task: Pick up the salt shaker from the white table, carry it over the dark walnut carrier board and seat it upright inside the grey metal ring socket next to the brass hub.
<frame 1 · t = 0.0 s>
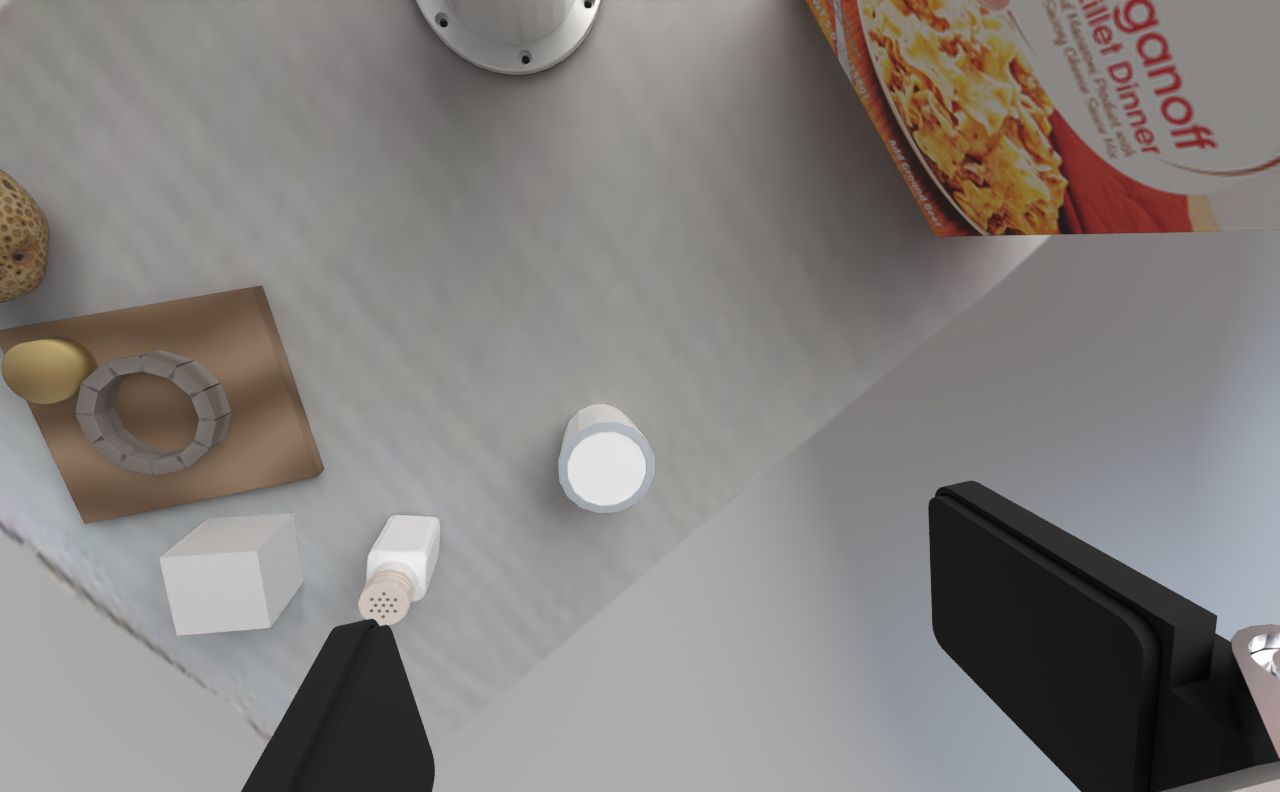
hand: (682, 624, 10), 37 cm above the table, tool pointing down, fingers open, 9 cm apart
salt shaker: (415, 534, 48), on the table
carrier board: (179, 403, 42), on the table
pasta box: (908, 77, 44), on the table
natural sponge: (25, 228, 38), on the table
white cube: (259, 548, 46), on the table
shot glass: (598, 436, 48), on the table
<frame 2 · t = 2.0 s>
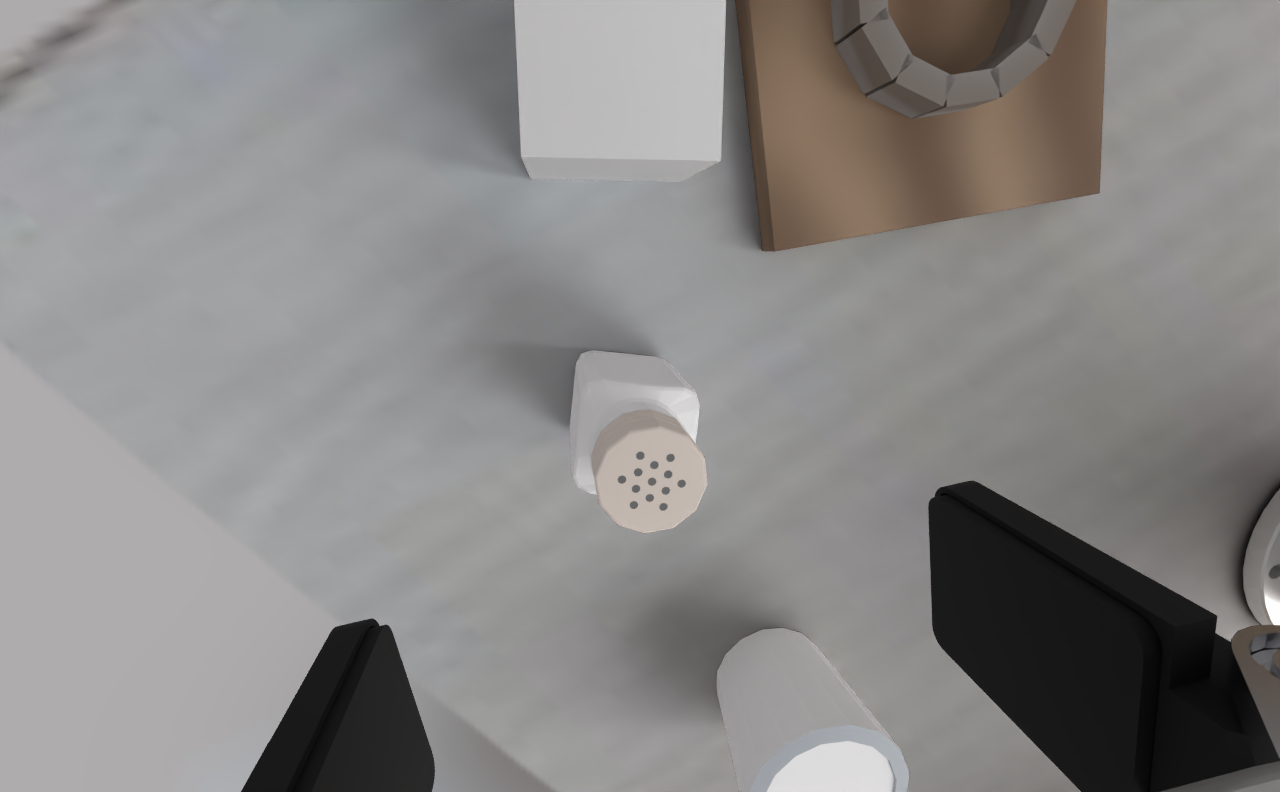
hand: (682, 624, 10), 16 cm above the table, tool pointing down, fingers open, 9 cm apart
salt shaker: (618, 395, 26), on the table
carrier board: (911, 13, 23), on the table
white cube: (606, 99, 23), on the table
shot glass: (768, 673, 30), on the table
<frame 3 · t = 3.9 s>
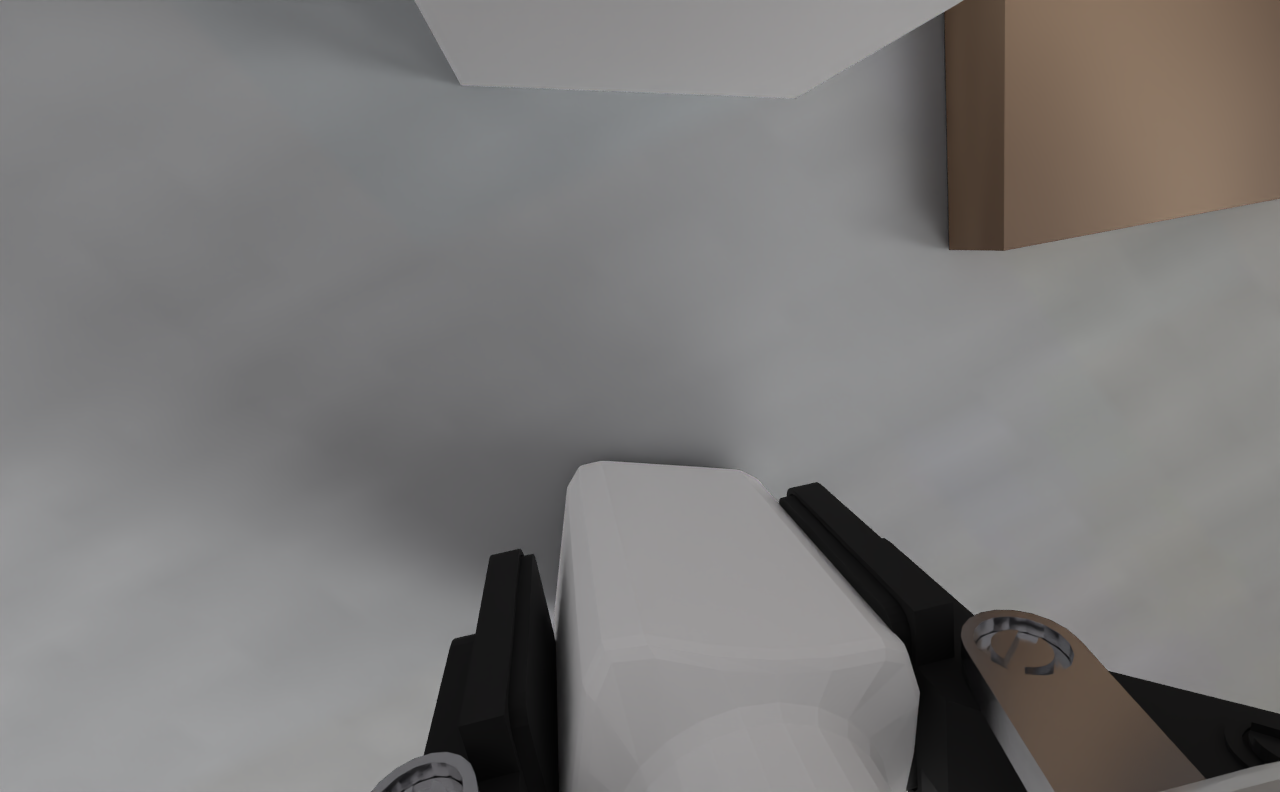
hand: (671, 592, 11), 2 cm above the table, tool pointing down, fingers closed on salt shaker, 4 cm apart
salt shaker: (651, 537, 13), on the table, touching gripper
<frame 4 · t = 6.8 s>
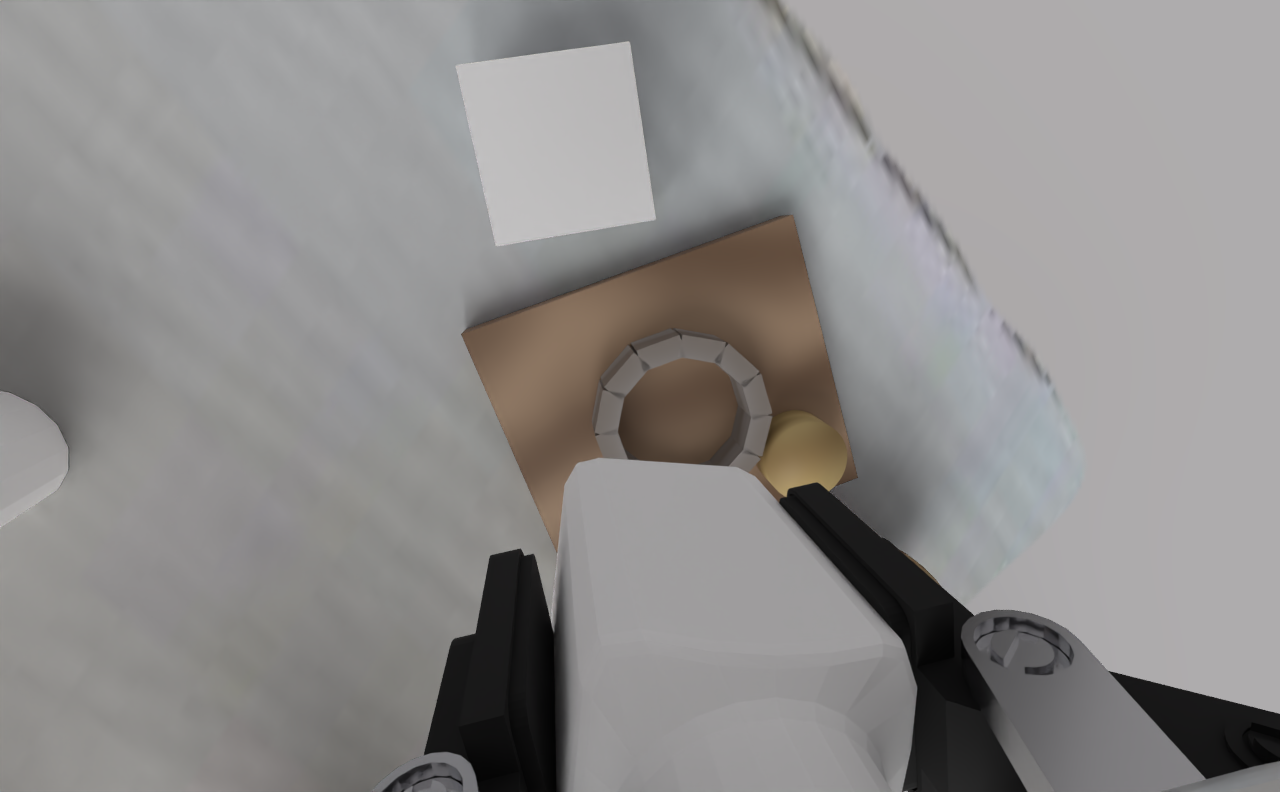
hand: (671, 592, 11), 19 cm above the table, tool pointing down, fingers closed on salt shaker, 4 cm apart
salt shaker: (649, 535, 13), point 17 cm above the table, touching gripper
carrier board: (670, 403, 30), on the table
white cube: (558, 166, 27), on the table
shot glass: (0, 448, 26), on the table
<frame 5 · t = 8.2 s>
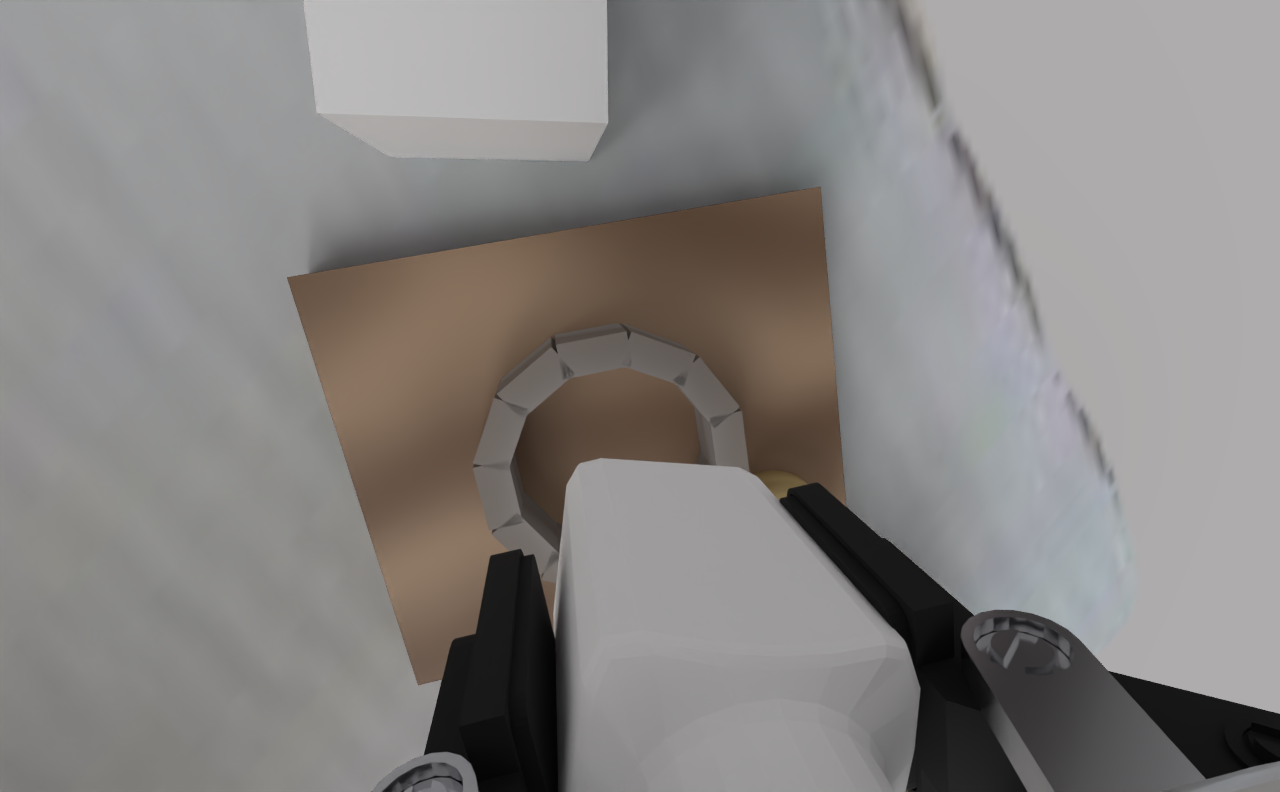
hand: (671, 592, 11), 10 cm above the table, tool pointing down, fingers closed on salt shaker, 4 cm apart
salt shaker: (651, 535, 13), point 8 cm above the table, touching gripper
carrier board: (604, 434, 21), on the table
white cube: (486, 54, 18), on the table
when the fingers open (4 cm above the table, at t = 9.7 s): salt shaker stays where it is, resting on carrier board.
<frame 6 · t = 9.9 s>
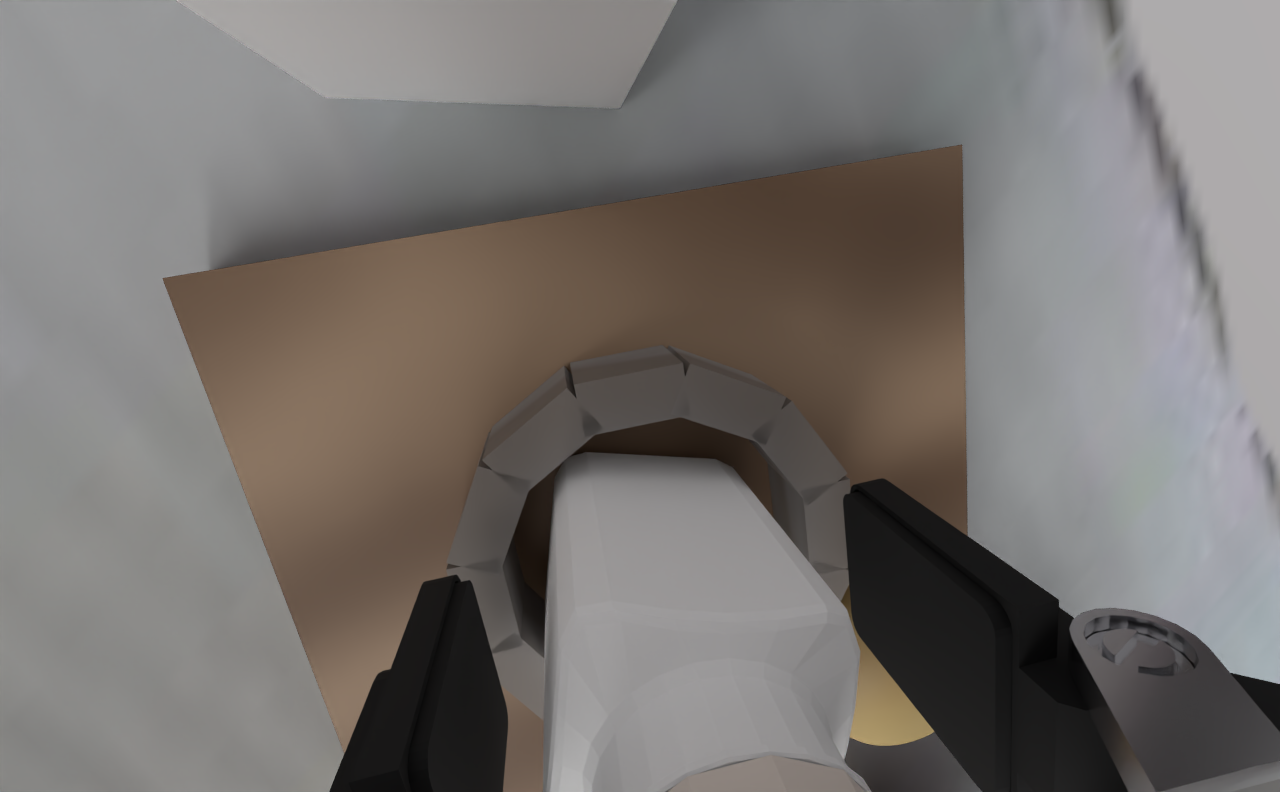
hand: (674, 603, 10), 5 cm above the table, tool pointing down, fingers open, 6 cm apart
salt shaker: (636, 524, 14), point 1 cm above the table, touching carrier board
carrier board: (637, 495, 15), on the table
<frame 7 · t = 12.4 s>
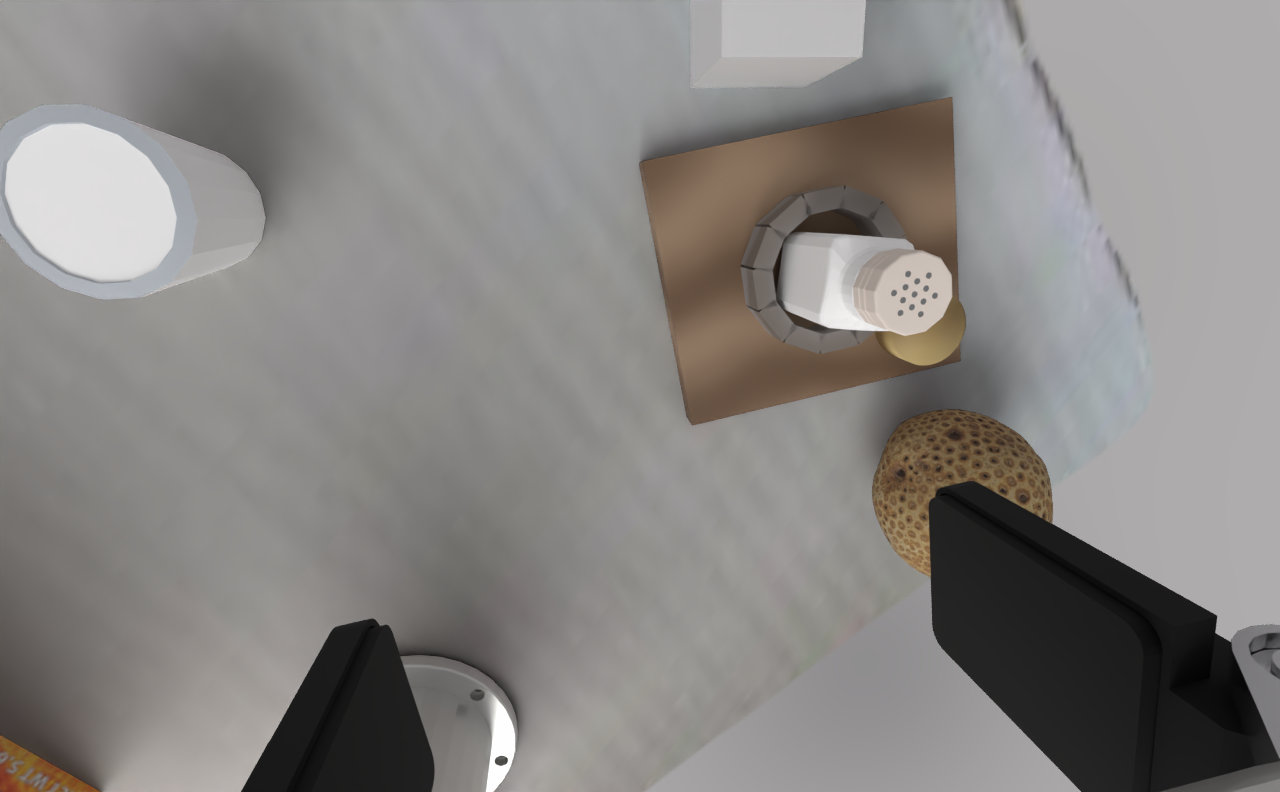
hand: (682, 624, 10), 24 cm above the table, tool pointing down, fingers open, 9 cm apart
salt shaker: (809, 272, 31), point 1 cm above the table, touching carrier board
carrier board: (804, 267, 33), on the table
natural sponge: (901, 455, 37), on the table
white cube: (748, 21, 29), on the table
shot glass: (203, 209, 28), on the table
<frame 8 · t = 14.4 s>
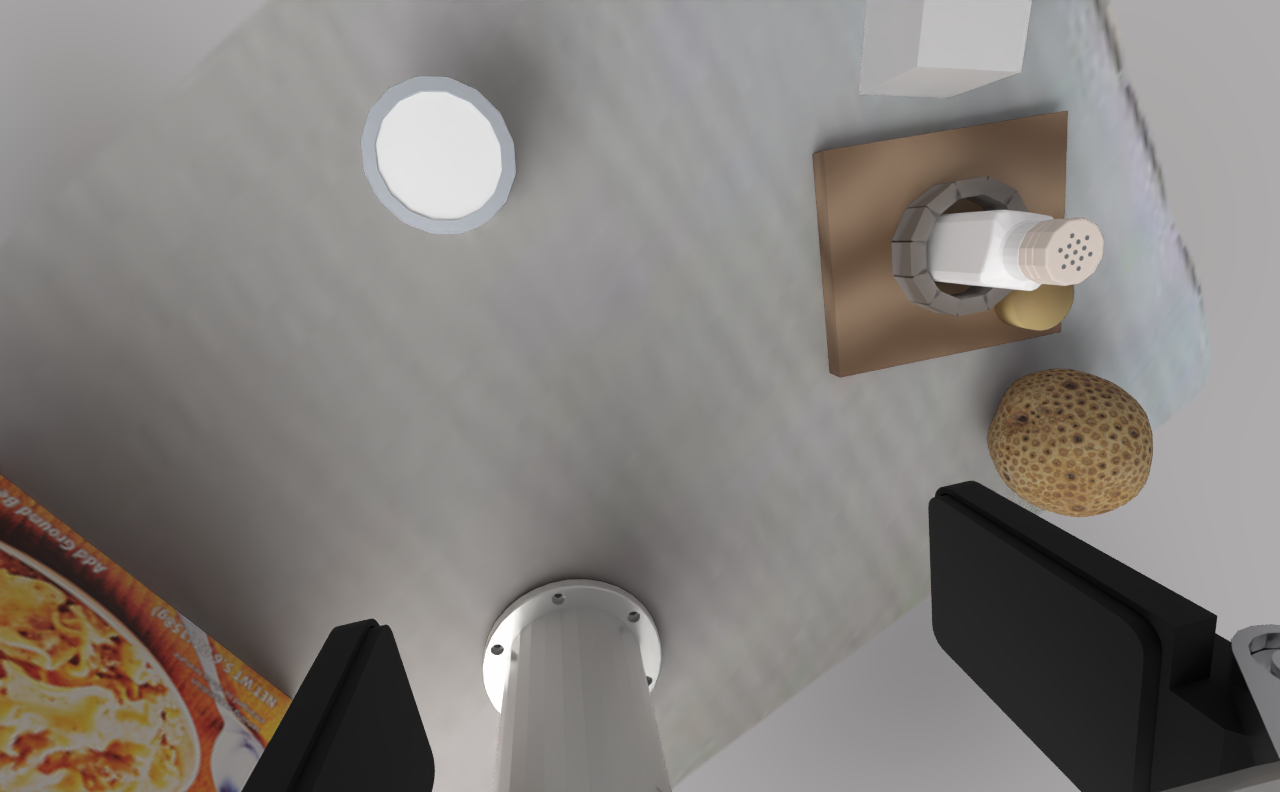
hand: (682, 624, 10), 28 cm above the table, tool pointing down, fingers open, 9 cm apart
salt shaker: (945, 250, 38), point 1 cm above the table, touching carrier board
carrier board: (935, 247, 39), on the table
pasta box: (105, 627, 37), on the table
natural sponge: (1001, 416, 43), on the table
white cube: (907, 43, 36), on the table
shot glass: (461, 174, 34), on the table
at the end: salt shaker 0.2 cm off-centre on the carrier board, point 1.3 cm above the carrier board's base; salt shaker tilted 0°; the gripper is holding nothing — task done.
